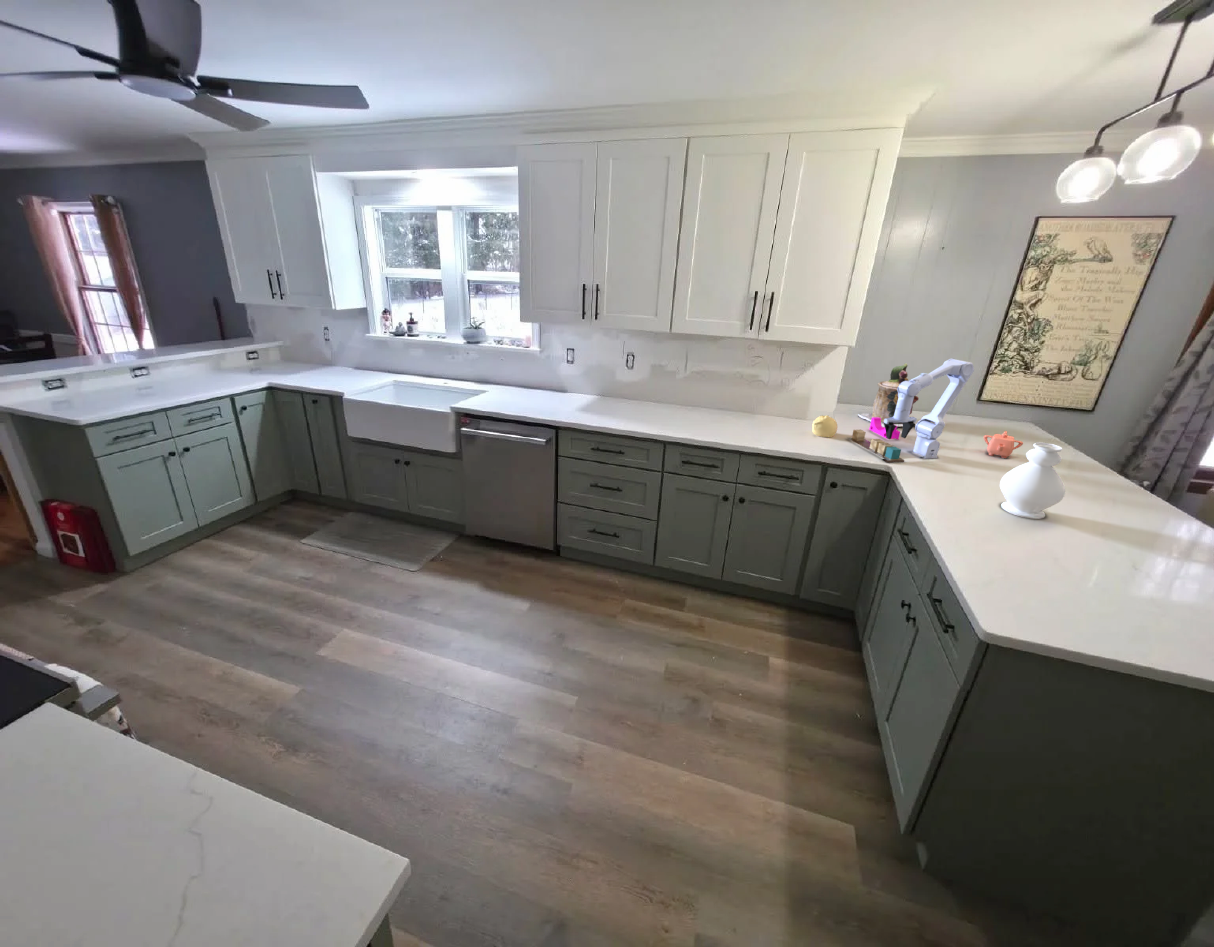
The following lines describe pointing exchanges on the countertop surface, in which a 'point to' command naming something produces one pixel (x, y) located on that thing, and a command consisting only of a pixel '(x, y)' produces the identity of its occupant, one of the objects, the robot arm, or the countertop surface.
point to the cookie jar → (889, 397)
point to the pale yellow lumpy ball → (824, 426)
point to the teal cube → (893, 452)
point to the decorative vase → (1034, 483)
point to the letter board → (867, 445)
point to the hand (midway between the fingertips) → (895, 438)
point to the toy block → (882, 428)
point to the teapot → (1001, 444)
